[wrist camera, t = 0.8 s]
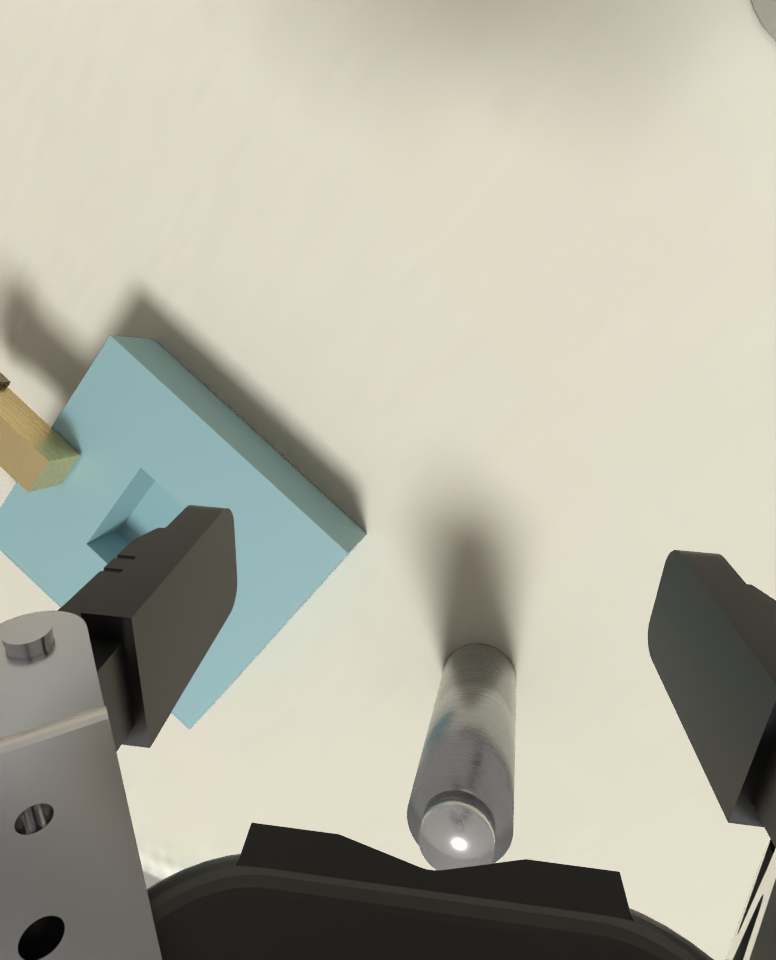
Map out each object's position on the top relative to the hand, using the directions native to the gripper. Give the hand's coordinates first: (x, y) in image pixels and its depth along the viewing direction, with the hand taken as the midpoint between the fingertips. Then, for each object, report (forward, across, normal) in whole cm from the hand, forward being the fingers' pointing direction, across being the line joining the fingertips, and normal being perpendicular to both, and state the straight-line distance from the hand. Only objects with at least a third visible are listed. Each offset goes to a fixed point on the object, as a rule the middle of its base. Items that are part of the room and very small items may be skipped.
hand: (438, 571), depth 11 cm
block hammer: (+21, +24, +6) cm, 33 cm away
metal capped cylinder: (+20, -4, +19) cm, 27 cm away
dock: (+23, +16, +12) cm, 31 cm away
